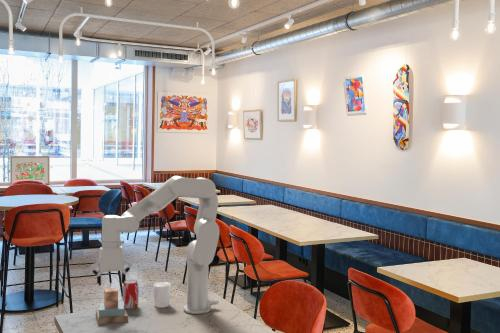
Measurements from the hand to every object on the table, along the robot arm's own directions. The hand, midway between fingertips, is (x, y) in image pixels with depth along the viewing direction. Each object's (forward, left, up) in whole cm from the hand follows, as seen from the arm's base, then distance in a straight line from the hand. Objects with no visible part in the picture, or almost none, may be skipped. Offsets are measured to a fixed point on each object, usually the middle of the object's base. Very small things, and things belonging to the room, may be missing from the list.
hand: (111, 284), depth 223 cm
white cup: (-24, -10, -15) cm, 30 cm away
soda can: (-10, -12, -15) cm, 22 cm away
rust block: (0, 0, -9) cm, 9 cm away
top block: (0, 0, -13) cm, 13 cm away
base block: (0, 0, -16) cm, 16 cm away
